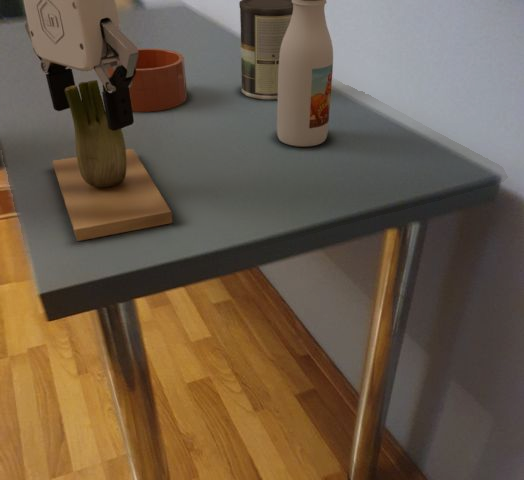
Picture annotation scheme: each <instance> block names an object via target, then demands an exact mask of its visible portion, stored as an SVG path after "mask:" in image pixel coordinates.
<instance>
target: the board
mask: <svg viewBox="0 0 524 480" xmlns="http://www.w3.org/2000/svg"><path fill="white" fill-rule="evenodd" d="M51 162H52V166H53V170H54V173H55V176H56V179H57V183H58V186H59V189H60V192H61V195H62V198H63V202H64V204H65V208H66V211H67V214H68V217H69V220H70V224H71V227H72V229H73V233H74V236H75V239H76V241H77V242H81V241H85V240H91V239H96V238H102V237H107V236H111V235H117V234H123V233H127V232H133V231H137V230H142V229H148V228H149V229H150V228H154V227H158V226H164V225H169V224H173V223H174V222H173V213H172V210H171V208H170V207H169V205H168V203H167V202H166V200H165V199H164V197H163V196H162V194H161V192H160V190H159V188H158V187H157V185H156V184H155V183H154V181H153V179H152V178H151V175H150V174H149V172H148V171H147V170H146V168H145V165H143V163H142V161H141V160H140V158H139V156H138V155H137V153H136V151H135V150H134V148H127V149H126V175H125V179H124V180H123V182H121V183H120V184H118V185H115V186H109V187H94V186H91V185H89V184H88V183H86V182H85V180H84V179H83V178H82V176H81V173H80V169H79V166H78V161H77V156H73V157H68V158H60V159H54V160H51Z"/></svg>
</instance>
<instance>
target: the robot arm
mask: <svg viewBox="0 0 524 480" xmlns="http://www.w3.org/2000/svg"><path fill="white" fill-rule="evenodd" d="M23 5H24V10H25V11H24V12H25V16H26V20H27V21H26V23H25V24H24V28H25V29H24V30H25V31H26V33H27V35H28V37H29V39H30V42H31V44H32V48H33V49H32V50H33V52H34V53H35V54H36V56H37V57H38V59H39V60H40V69H41V70H42V72H43V73H44V74H45V77H46V82H47V86H48V90H49V95H50V98H51V103H52V107H53V110H55V111H56V112H61V111H65V110H68V109H70V106H69V103H68V100H67V96H66V93H65V88H67V87H70V86H76V82H75V78H74V72H73V69H74V70H77V71H81V72H91V71H92V70H94V72H95V73H96V75H97V77H98V79H99V80H100V82H101V84H102V86H103V85H104V87H105V89H106V90H107V91H104V92H103V91H102V92H101V95H102V101H103V105H104V109H105V112H106V118H107V124H108V128H109V129H110V130H113V131H115V130H118V129H121V130H122V129H123V128H126V127H129V126H133V124H134V123H135V119H134V113H133V112H134V111H132V106H131V99H130V92H129V87H131V86H132V79H133V78H134V76H135V74H136V69H135V67H136V63H137V58H138V49H139V48H138V47H137V45H135V44H134V43H133V42H132V41H131V40H130V39H129V38H128V37H127V36H126V35H125V33H123V32H122V31H121V25H120V19H119V13H118V7H117V3H116V0H23ZM110 67H112V68H113V70H114V73H113V75H112V77H111V76H110V74H109V72H108V71H107V68H110Z"/></svg>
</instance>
